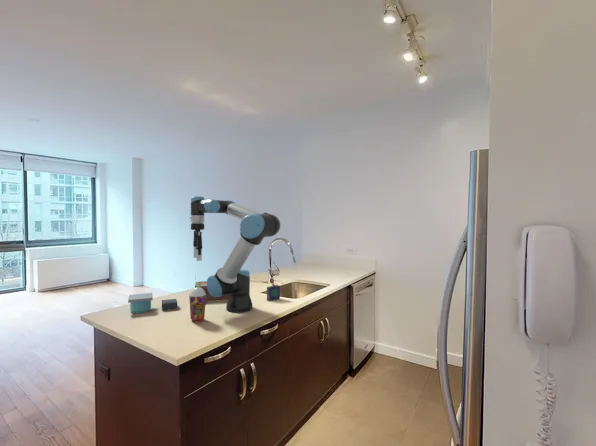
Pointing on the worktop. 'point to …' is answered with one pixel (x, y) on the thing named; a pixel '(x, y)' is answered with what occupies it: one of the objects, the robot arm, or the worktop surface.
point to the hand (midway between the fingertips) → (197, 259)
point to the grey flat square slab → (140, 297)
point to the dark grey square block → (169, 304)
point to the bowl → (140, 306)
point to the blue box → (273, 292)
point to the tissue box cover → (208, 296)
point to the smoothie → (197, 304)
